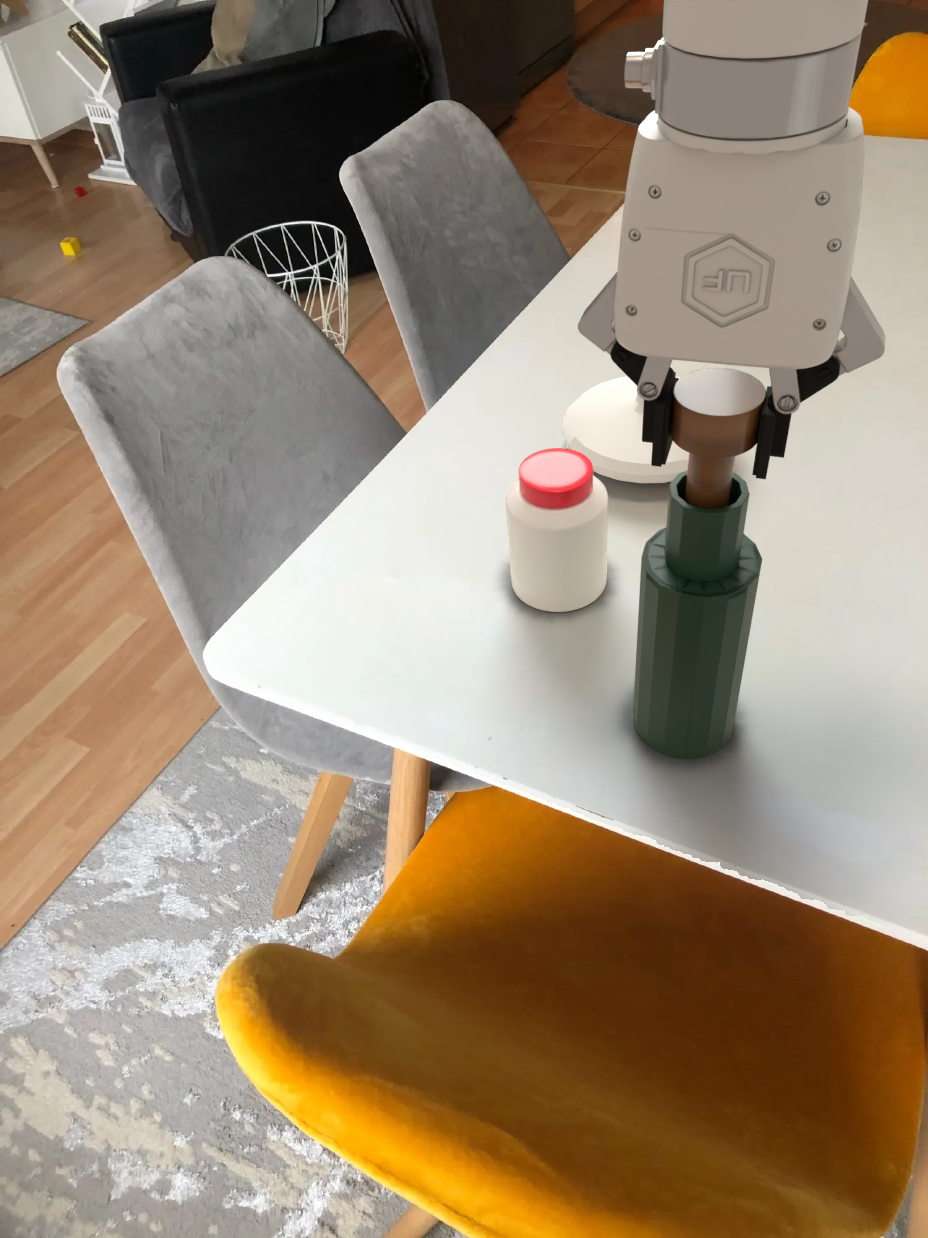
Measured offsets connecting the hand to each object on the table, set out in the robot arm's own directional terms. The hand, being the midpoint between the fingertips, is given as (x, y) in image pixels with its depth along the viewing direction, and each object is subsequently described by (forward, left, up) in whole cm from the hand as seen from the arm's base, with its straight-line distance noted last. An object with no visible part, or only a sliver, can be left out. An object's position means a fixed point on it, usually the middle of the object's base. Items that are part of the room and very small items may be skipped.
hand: (712, 454), depth 51 cm
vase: (+28, -16, -22) cm, 39 cm away
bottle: (0, 0, -22) cm, 22 cm away
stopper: (0, 0, -3) cm, 3 cm away
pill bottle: (+17, 0, -22) cm, 28 cm away
